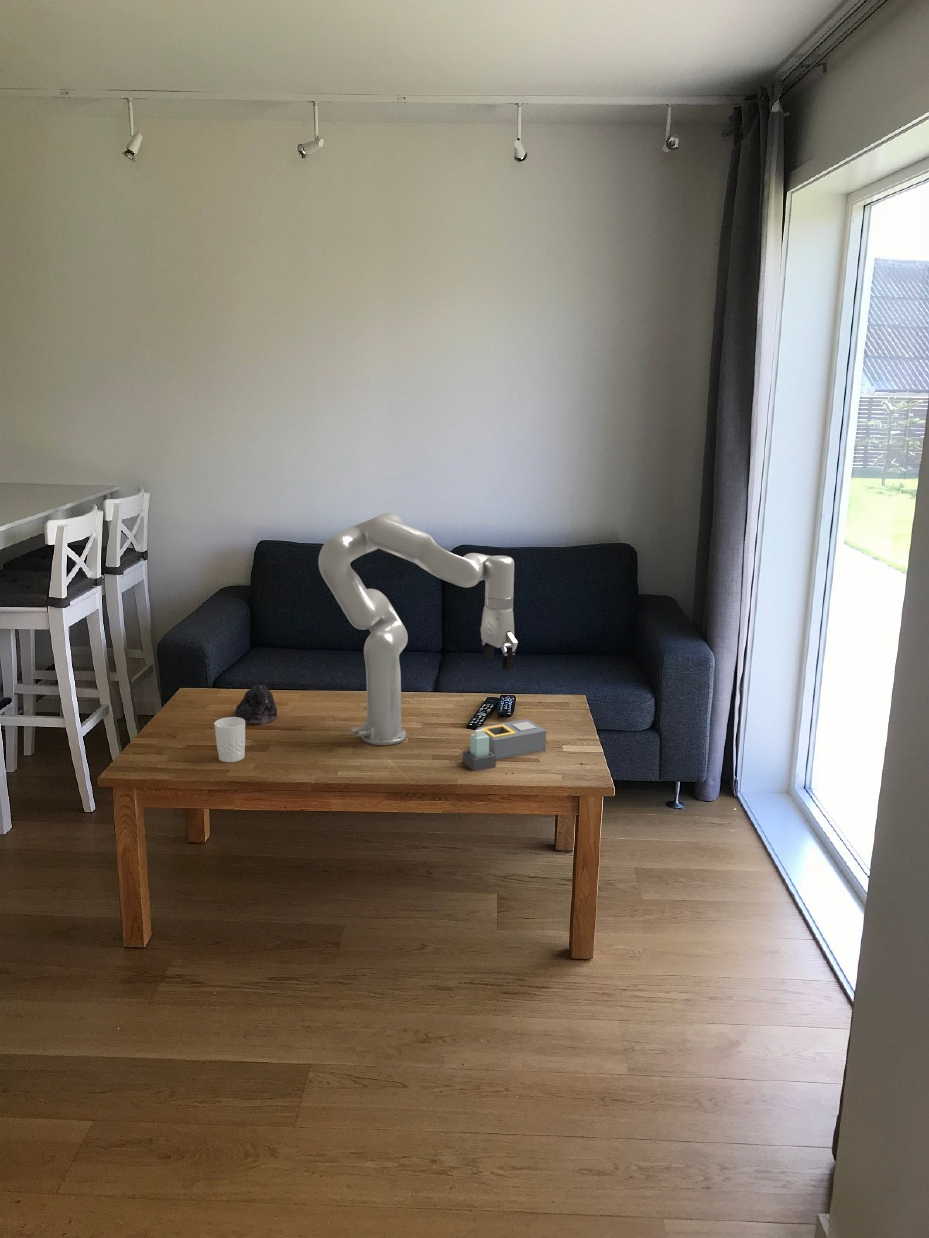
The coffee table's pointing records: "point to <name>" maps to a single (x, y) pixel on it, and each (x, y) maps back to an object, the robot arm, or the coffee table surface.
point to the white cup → (230, 739)
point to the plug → (479, 744)
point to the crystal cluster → (257, 706)
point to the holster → (479, 761)
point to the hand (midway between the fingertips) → (497, 664)
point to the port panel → (515, 738)
